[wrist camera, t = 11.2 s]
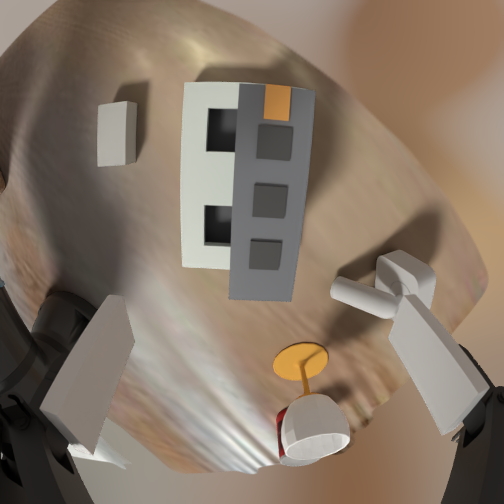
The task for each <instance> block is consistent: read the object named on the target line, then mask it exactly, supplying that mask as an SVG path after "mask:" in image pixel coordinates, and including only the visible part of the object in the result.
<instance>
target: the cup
mask: <svg viewBox="0 0 504 504" xmlns="http://www.w3.org/2000/svg"><path fill="white" fill-rule="evenodd" d="M327 362H328V353H327V352H326V350H325V349H324V348H323V347H322V346H319V345H317V344H315V343H300V344H295V345H291V346H290V347H288V348H286V349H284V350H282V351H281V352H280V353H279V354H278V355H277V356H276V357H275V360H274V363H273V367H274V370H275V372H276V373H277V374H278V375H279V376H280V377H282V378H285V379H288V380H302V383H303V388H304V393H305V394H303V395H301V396H299V397H298V398H297V399H296V400H295V401H293V402H292V403H291V404H290V405H289V407H288V409H287V411H286V414H285V416H284V418H283V423H282V428H281V441H282V444H283V448H284V451H285V454H286V456H288V457H290V458H293V459H301V460H305V459H315V458H320V457H324V456H327V455H330V454H333V453H336V452H337V451H339V450H341V449H342V448H344V447H345V446H346V445H347V444H348V443H349V441H350V431H349V424H348V422H347V419H346V417H345V415H344V413H343V412H342V410H341V409H340V407H339V406H338V405H337V404H336V403H335V402H334V401H333V400H332V399H331V398H330V397H329V396H326V395H323V394H319V393H310V390H309V385H308V381H307V378H310V377H312V376H314V375H316V374H318V373H319V372H320V371H321V370H322V369H324V368H325V366H326V364H327Z"/></svg>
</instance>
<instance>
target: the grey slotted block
mask: <svg viewBox="0 0 504 504" xmlns="http://www.w3.org/2000/svg"><path fill="white" fill-rule="evenodd" d="M315 92H316V91H313V90H307V89H299V88H292V87H291V86H282V85H272V84H266V85H261V84H245V83H239V97H238V111H237V126H236V143H235V160H234V179H233V200H232V222H231V248H230V279H229V299H234V300H255V301H285V302H291V300H292V294H293V287H294V281H295V275H296V268H297V261H298V254H299V247H300V240H301V233H302V225H303V218H304V210H305V201H306V193H307V184H308V175H309V165H310V155H311V144H312V133H313V121H314V107H315Z"/></svg>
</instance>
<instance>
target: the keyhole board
mask: <svg viewBox="0 0 504 504" xmlns="http://www.w3.org/2000/svg"><path fill="white" fill-rule="evenodd" d="M239 83H242V82H185V87H184V100H183V117H182V138H181V182H180V200H181V245H182V267H193V268H210V269H229V270H230V248H231V222H232V200H233V179H234V160H235V143H236V126H237V111H238V97H239ZM245 84H259V83H245ZM261 85H266V84H261ZM292 88H298V87H292ZM299 89H305V88H299Z"/></svg>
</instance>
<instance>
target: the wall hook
mask: <svg viewBox="0 0 504 504" xmlns="http://www.w3.org/2000/svg"><path fill="white" fill-rule="evenodd" d="M435 284H436V274H435V272H434V270H433V269H432V268H431V267H430V266H429V265H427V264H425V263H424V262H422V261H420V260H418V259H417V258H415V257H413V256H411V255H410V254H408V253H406V252H404V251H403V250H396V251H393V252H390V253H387V254H385V255H382V256H379V257H378V259H377V264H376V279H375V288H373V287H370V286H368V285H365V284H362V283H359V282H356V281H353V280H350V279H348V278H345V277H342V276H339V277H337V278H336V279H335V280H334V282H333V284H332V287H331V292H330V293H331V297H332V298H334V299H336V300H339V301H341V302H344V303H346V304H349V305H351V306H353V307H356V308H358V309H361V310H363V311H366V312H368V313H371V314H373V315H376V316H378V317H381V318H384V319H388V318H391V319H392V320H393V321H395V318H396V316H397V313H398V310H399V307H400V304H401V301H402V298H403V295H411V294H415V295H416V296H417V297H418V298H419V299H420V300H421V301H422V302H423V303H424V305H425V306H426V307H427V308H428V309H429V310H430V307H431V303H432V299H433V294H434V290H435Z"/></svg>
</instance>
